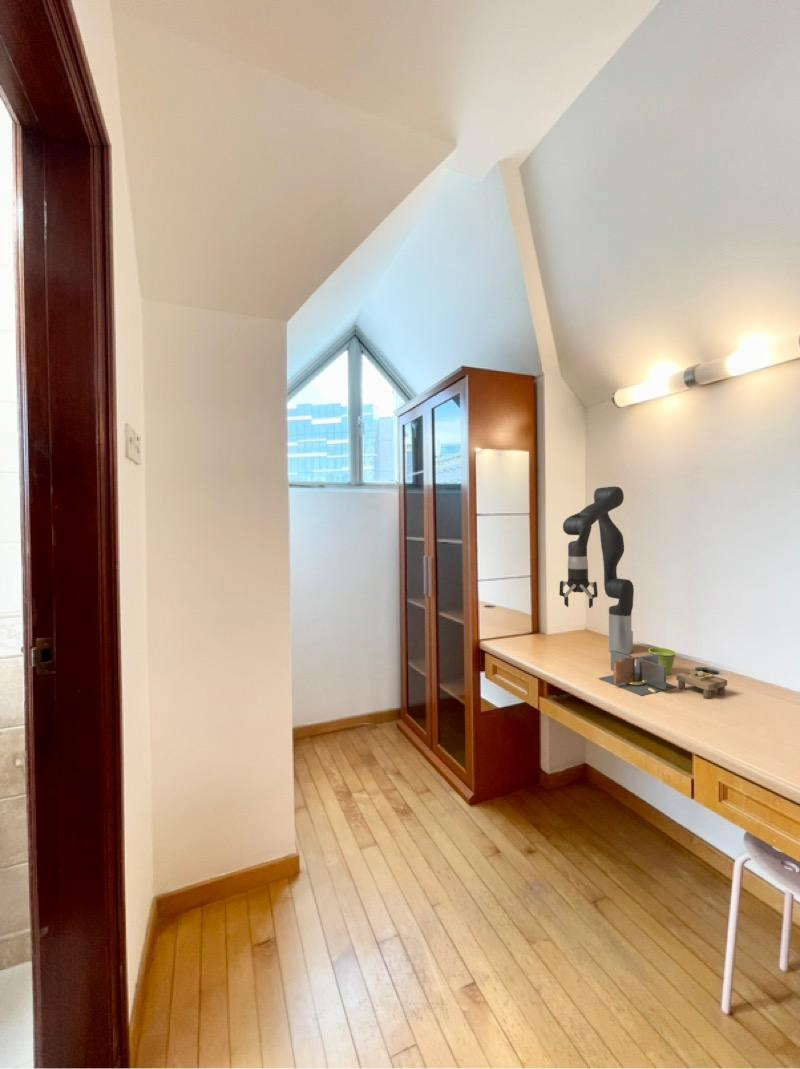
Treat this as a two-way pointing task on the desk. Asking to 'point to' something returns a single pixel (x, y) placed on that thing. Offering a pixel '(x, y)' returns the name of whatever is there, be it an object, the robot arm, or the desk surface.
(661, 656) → the plant pot
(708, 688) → the level stand
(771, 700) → the desk surface
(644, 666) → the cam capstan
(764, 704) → the desk surface
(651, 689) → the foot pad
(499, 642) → the desk surface
